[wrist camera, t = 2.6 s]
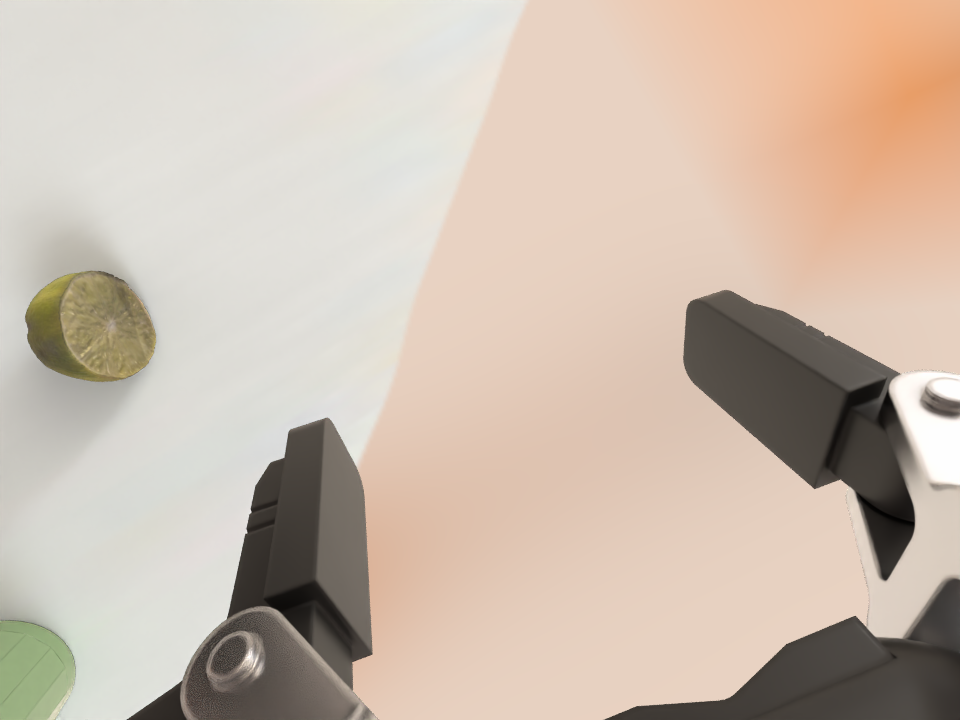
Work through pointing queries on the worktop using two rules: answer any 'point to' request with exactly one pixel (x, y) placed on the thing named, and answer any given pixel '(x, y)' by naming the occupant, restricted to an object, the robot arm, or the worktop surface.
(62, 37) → the worktop surface
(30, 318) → the lime
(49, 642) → the tumbler
